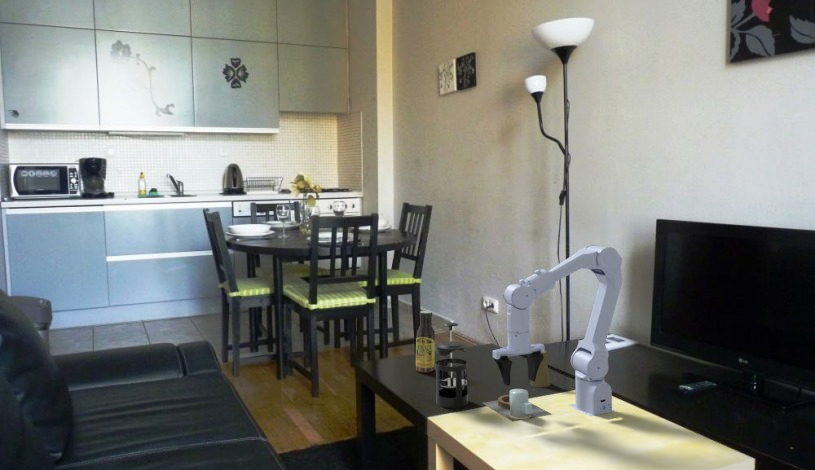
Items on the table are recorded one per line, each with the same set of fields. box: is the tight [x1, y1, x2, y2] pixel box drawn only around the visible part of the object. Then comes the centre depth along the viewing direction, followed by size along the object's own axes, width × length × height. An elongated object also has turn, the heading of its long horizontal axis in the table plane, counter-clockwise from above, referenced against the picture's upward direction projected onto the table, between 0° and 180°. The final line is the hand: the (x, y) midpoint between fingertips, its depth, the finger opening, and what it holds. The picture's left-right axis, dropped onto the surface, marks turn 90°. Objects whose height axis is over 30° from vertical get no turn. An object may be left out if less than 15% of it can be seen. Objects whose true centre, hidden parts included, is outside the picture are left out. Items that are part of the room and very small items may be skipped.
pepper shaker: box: [530, 350, 551, 388], centre depth 193 cm, size 6×6×11 cm
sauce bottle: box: [415, 310, 436, 374], centre depth 212 cm, size 6×6×20 cm
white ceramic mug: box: [509, 388, 533, 417], centre depth 166 cm, size 8×5×6 cm, turn 21°
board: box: [482, 394, 552, 422], centre depth 172 cm, size 16×12×2 cm
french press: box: [434, 322, 469, 409], centre depth 178 cm, size 12×9×23 cm
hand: (519, 382), depth 166 cm, fingers open, 7 cm apart
